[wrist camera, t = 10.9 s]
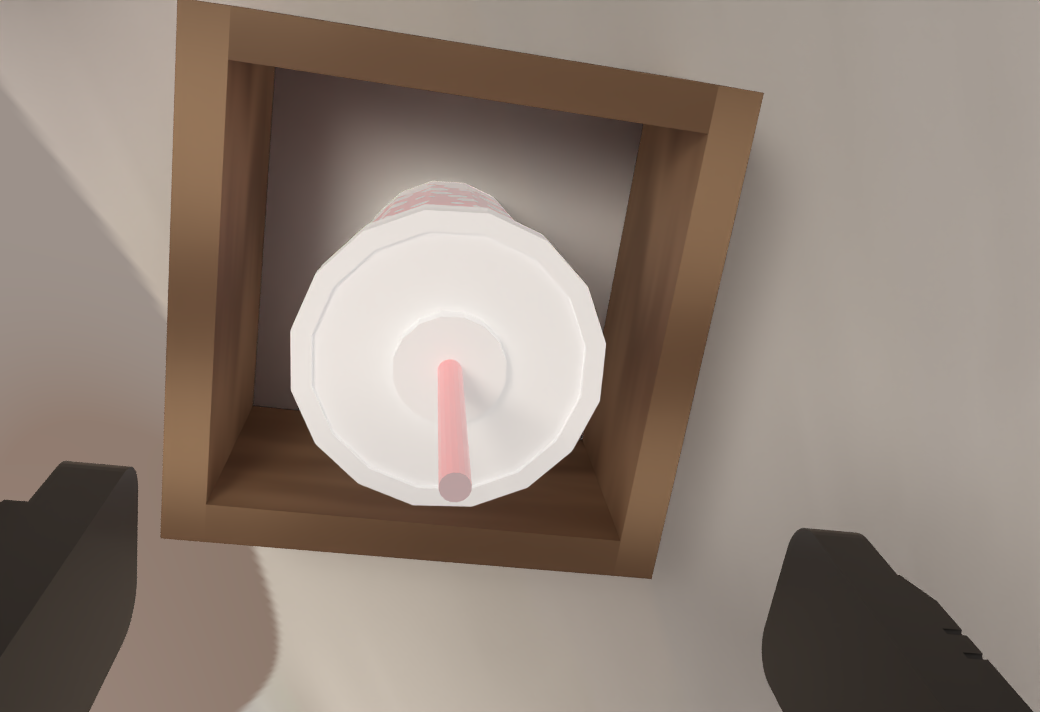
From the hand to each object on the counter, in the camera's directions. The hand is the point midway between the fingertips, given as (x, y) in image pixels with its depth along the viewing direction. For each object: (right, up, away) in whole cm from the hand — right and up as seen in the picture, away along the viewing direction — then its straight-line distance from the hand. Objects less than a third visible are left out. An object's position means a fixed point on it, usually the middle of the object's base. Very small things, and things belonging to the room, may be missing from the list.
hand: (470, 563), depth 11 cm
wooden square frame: (-2, +5, +15) cm, 16 cm away
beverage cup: (-2, +5, +15) cm, 16 cm away
